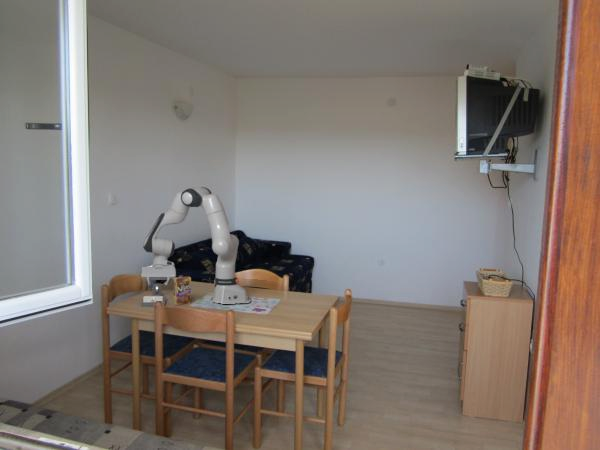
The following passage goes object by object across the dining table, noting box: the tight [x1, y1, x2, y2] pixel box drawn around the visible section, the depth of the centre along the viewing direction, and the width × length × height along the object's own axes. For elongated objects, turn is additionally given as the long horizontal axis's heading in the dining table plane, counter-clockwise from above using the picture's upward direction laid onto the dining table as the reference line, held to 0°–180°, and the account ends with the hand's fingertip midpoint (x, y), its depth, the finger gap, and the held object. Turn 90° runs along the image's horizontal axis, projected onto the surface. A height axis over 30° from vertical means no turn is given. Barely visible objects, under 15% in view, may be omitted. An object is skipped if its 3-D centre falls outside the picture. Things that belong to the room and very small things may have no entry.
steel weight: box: [152, 282, 163, 296], centre depth 270 cm, size 5×5×8 cm
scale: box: [141, 294, 167, 308], centre depth 257 cm, size 12×12×6 cm
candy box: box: [172, 275, 192, 306], centre depth 259 cm, size 9×4×15 cm, turn 123°
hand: (157, 284), depth 272 cm, fingers open, 8 cm apart
